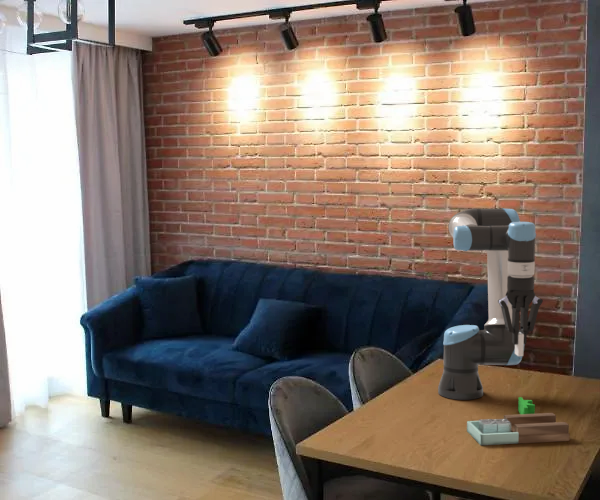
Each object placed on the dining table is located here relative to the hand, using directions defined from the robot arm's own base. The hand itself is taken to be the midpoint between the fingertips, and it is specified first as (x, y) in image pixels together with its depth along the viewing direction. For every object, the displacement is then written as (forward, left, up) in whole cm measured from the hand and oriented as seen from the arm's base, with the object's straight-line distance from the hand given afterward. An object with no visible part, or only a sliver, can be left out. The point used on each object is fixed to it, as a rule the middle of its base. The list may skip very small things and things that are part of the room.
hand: (518, 354), depth 228 cm
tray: (+5, -10, -23) cm, 25 cm away
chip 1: (+5, -11, -22) cm, 25 cm away
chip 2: (+5, -7, -22) cm, 24 cm away
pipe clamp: (-12, +8, -23) cm, 27 cm away
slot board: (+5, +3, -23) cm, 23 cm away
